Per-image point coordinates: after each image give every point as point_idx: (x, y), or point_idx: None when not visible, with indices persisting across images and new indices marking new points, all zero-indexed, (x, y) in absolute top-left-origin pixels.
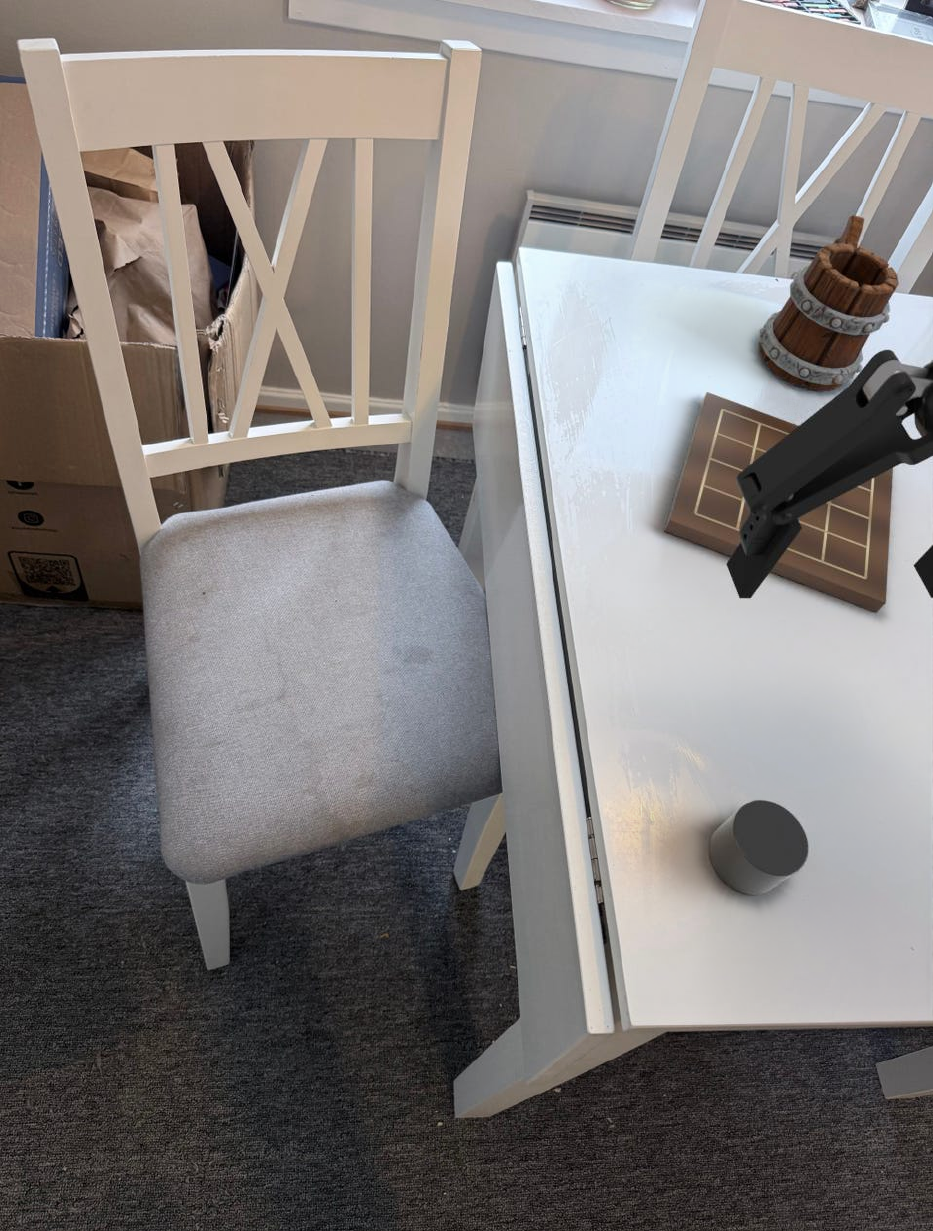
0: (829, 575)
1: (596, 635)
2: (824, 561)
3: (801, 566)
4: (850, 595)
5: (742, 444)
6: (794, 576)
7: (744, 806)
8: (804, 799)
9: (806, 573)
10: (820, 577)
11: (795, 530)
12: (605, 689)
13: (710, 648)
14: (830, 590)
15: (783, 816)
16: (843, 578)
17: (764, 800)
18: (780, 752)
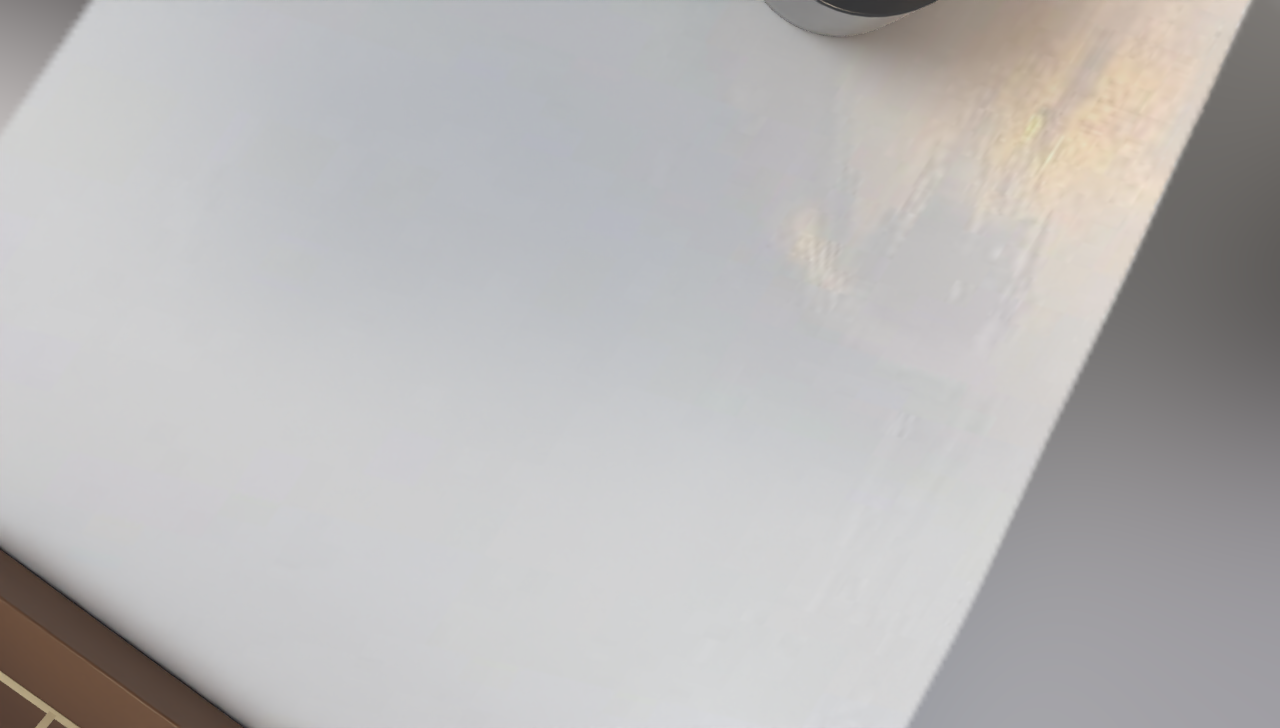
0: (55, 665)
1: (876, 662)
2: (44, 713)
3: (137, 715)
4: (14, 584)
5: None
6: (167, 687)
7: (907, 6)
8: (555, 25)
9: (132, 689)
10: (92, 666)
11: None
12: (944, 508)
13: (565, 541)
14: (70, 616)
15: None
16: (11, 644)
17: (825, 4)
18: (542, 183)
